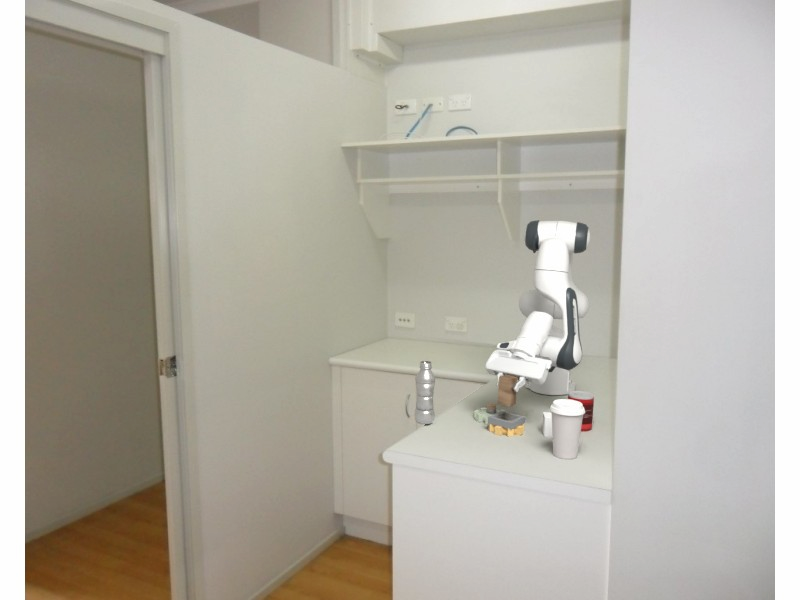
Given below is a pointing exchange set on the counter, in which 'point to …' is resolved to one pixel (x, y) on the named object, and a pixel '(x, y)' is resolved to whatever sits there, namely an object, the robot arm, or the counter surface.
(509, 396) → the peg
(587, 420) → the canned food
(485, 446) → the counter surface
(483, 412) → the gear
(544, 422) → the white cube
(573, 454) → the coffee cup
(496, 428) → the frame
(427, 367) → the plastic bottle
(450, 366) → the counter surface
